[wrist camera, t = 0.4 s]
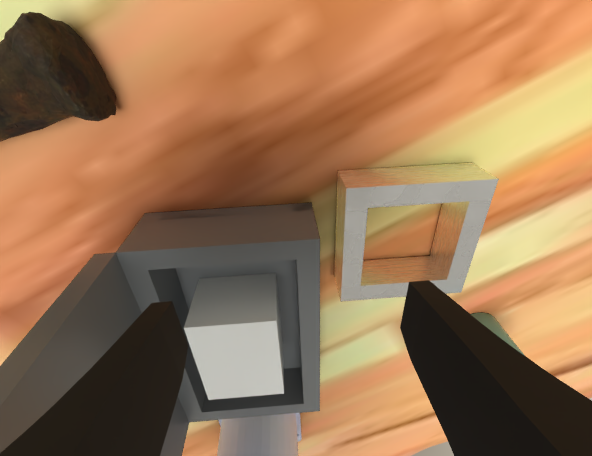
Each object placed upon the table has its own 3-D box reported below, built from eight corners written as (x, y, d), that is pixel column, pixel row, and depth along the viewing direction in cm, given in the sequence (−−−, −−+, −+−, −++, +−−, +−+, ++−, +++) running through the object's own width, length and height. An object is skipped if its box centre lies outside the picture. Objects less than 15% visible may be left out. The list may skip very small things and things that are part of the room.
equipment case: (313, 364, 27) (345, 620, 15) (188, 374, 27) (119, 644, 15) (311, 202, 19) (379, 492, 7) (128, 214, 18) (-150, 543, 6)
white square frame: (442, 267, 22) (461, 292, 20) (334, 275, 22) (340, 301, 20) (471, 162, 18) (498, 178, 16) (337, 170, 18) (346, 188, 15)
